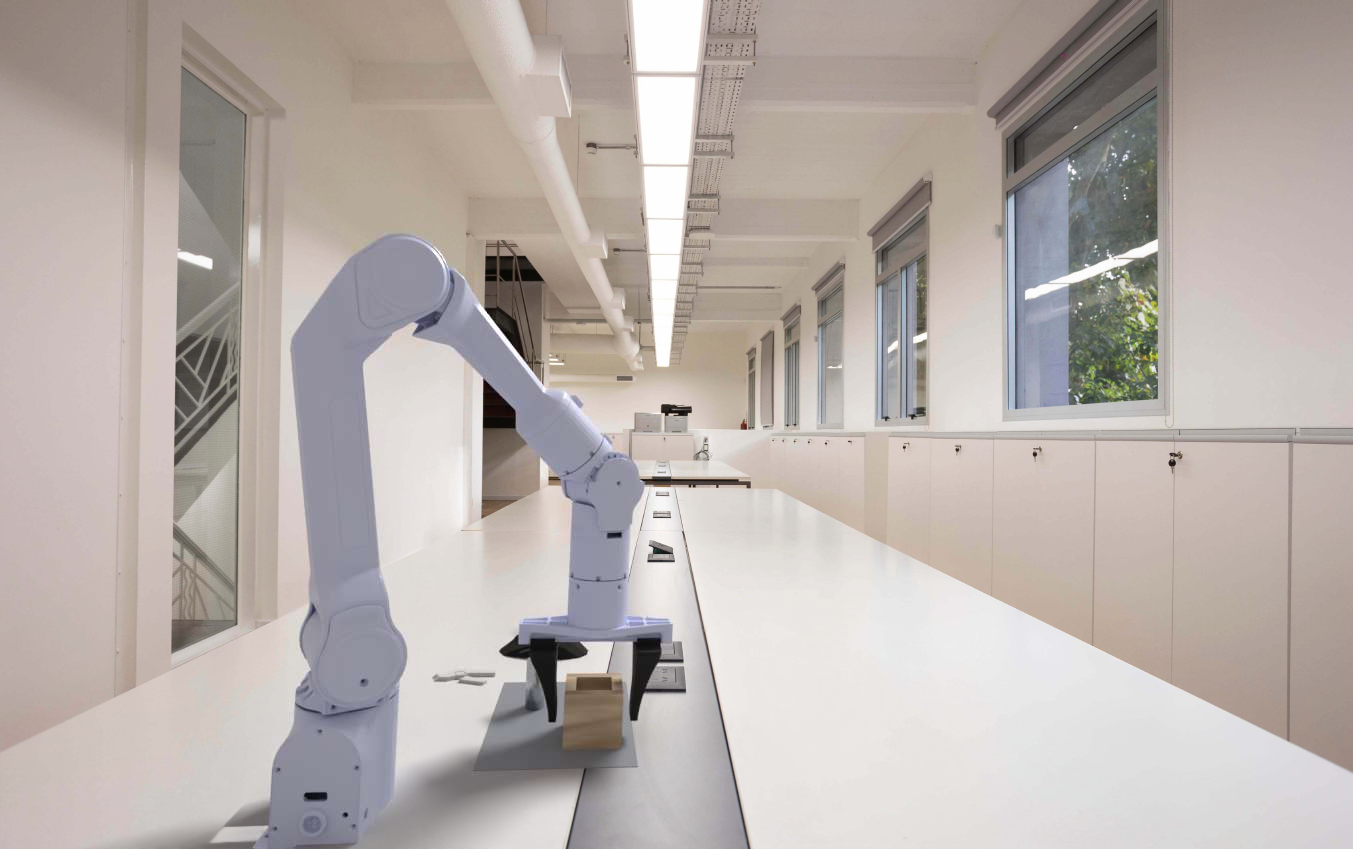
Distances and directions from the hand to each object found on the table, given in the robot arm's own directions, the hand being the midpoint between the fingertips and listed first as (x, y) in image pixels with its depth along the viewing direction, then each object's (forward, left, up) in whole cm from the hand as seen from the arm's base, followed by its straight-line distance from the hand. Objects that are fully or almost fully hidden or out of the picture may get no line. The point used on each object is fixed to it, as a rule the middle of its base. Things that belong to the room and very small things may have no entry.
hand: (593, 717), depth 63 cm
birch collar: (0, 0, -2) cm, 2 cm away
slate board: (+4, +3, -3) cm, 6 cm away
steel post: (+7, +6, -2) cm, 9 cm away
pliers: (+17, +19, -3) cm, 26 cm away
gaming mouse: (+25, +8, -3) cm, 27 cm away
